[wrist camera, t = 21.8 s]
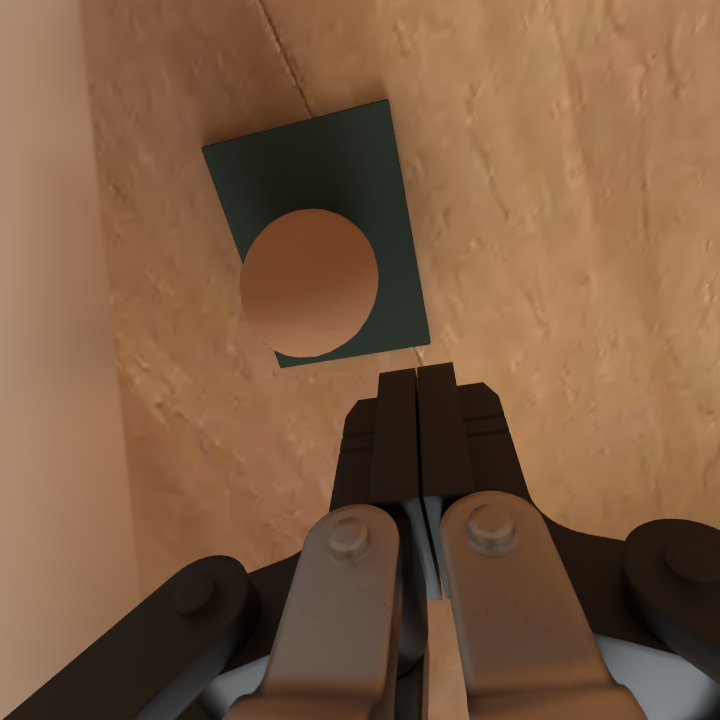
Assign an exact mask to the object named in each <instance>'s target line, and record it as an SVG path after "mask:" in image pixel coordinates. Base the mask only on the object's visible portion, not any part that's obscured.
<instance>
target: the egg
mask: <svg viewBox="0 0 720 720" xmlns="http://www.w3.org/2000/svg"><path fill="white" fill-rule="evenodd" d="M377 290H378V267H377V263H376V259H375V255H374V251H373V249H372V247H371V245H370V243H369V241H368V240H367V238H366V237H365V235H364V234H363V233H362V232H361V230H360V229H359V228H358V227H356V226H355V225H354V224H353V223H352V222H350V221H349V220H348V219H346V218H345V217H343V216H341V215H339V214H336V213H333V212H330V211H327V210H323V209H306V210H296V211H293V212H291V213H288V214H286V215H284V216H281V217H279V218H278V219H276V220H275V221H273V222H272V223H270V224H269V225H268V226H267V227H266V228H265V229H264V230H263V231H262V232H261V233H260V235H259V236H258V237H257V238H256V239H255V241H254V242H253V244H252V245H251V247H250V249H249V250H248V252H247V255H246V258H245V261H244V264H243V267H242V270H241V274H240V292H241V299H242V306H243V311H244V313H245V316H246V318H247V321H248V323H249V325H250V327H251V328H252V330H253V331H254V333H255V334H256V336H257V337H258V338H259V339H261V340H262V341H263V342H264V343H265V344H266V345H268V346H269V347H270V348H271V349H272V350H275V351H277V352H279V353H282V354H284V355H287V356H293V357H316V356H319V355H322V354H325V353H328V352H331V351H332V350H334V349H336V348H338V347H339V346H341V345H343V344H344V343H346V342H347V341H348V340H350V339H351V338H352V337H353V336H354V335H356V334H357V333H358V331H359V330H360V328H361V327H362V326H363V324H364V323H365V321H366V320H367V318H368V316H369V314H370V312H371V310H372V308H373V305H374V302H375V298H376V294H377Z"/></svg>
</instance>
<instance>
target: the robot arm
mask: <svg viewBox="0 0 720 720" xmlns="http://www.w3.org/2000/svg"><path fill="white" fill-rule="evenodd" d="M417 376H418V379H417ZM440 574H441V579H442V583H443V588H444V592H445V597H446V599H451V605H452V611H453V617H454V623H455V628H456V634H457V640H458V646H459V652H460V657H461V663H462V669H463V675H464V681H465V687H466V693H467V704H468V712H469V718H470V720H720V530H718V529H716V528H714V527H711V526H708V525H705V524H702V523H698V522H694V521H690V520H682V519H660V520H654V521H650V522H647V523H644V524H642V525H640V526H638V527H637V528H635V529H634V530H633V531H631V533H630V534H629V535H628V536H627V538H626V539H625V541H622V540H617V539H611V538H606V537H600V536H594V535H589V534H584V533H580V532H576V531H574V530H571V529H568V528H565V527H563V526H561V525H559V524H557V523H556V522H554V521H552V520H551V519H549V518H548V517H547V516H546V515H544V514H543V513H542V512H541V511H540V510H539V509H538V508H537V507H536V506H535V504H534V502H533V501H532V499H531V497H530V495H529V492H528V489H527V486H526V483H525V480H524V476H523V473H522V470H521V467H520V463H519V460H518V457H517V454H516V451H515V447H514V444H513V441H512V438H511V434H510V433H509V428H508V425H507V422H506V418H505V416H504V412H503V409H502V405H501V402H500V399H499V396H498V395H497V394H496V393H495V392H494V391H492V390H491V389H490V388H489V387H488V386H487V385H486V384H484V383H483V382H482V383H475V384H468V385H461V386H457V385H456V379H455V373H454V368H453V362H449V363H443V364H436V365H430V366H423V367H417V374H416V370H415V368H411V369H404V370H398V371H391V372H384V373H380V375H379V385H378V396H377V398H371V399H364V400H358V401H357V403H356V404H355V405H354V407H353V408H352V409H351V411H350V412H349V413H348V415H347V416H346V419H345V425H344V430H343V438H342V441H341V447H340V454H339V458H338V464H337V470H336V475H335V481H334V487H333V492H332V498H331V504H330V509H329V513H328V514H327V515H325V516H324V517H322V518H321V519H320V520H319V521H318V522H317V523H316V524H315V525H314V526H313V527H312V529H311V530H310V532H309V533H308V535H307V537H306V539H305V542H304V545H303V548H302V550H301V551H300V552H298V553H296V554H295V555H293V556H291V557H289V558H286V559H284V560H282V561H279V562H277V563H274V564H271V565H269V566H266V567H263V568H261V569H258V570H256V571H253V572H250V573H248V574H247V572H246V570H245V568H244V566H243V565H242V564H241V563H240V562H239V561H238V560H236V559H235V558H232V557H229V556H223V555H217V556H210V557H205V558H202V559H199V560H197V561H195V562H193V563H191V564H189V565H187V566H186V567H184V568H182V569H181V570H180V571H179V572H177V573H176V574H175V575H173V576H172V577H171V578H170V579H169V580H168V581H166V582H165V583H164V584H163V585H162V586H160V587H159V588H158V589H157V590H156V591H154V592H153V593H152V594H151V595H150V596H149V597H147V598H146V599H145V600H144V601H143V602H141V603H140V604H139V605H138V606H137V607H136V608H134V609H133V610H132V611H131V612H130V613H128V614H127V615H126V616H125V617H124V618H122V619H121V620H120V621H119V622H118V623H117V624H115V625H114V626H113V627H112V628H111V629H110V630H108V631H107V632H106V633H105V634H104V635H102V636H101V637H100V638H99V639H98V640H96V641H95V642H94V643H93V644H92V645H91V646H89V647H88V648H87V649H86V650H85V651H83V652H82V653H81V654H80V655H79V656H77V657H76V658H75V659H74V660H73V661H72V662H71V663H69V664H68V665H67V666H66V667H64V668H63V669H62V670H61V671H60V672H59V673H57V674H56V675H55V676H54V677H53V678H51V679H50V680H49V681H48V682H47V683H46V684H44V685H43V686H42V687H41V688H40V689H38V690H37V691H36V692H35V693H34V694H32V695H31V696H30V697H29V698H28V699H27V700H25V701H24V702H23V703H22V704H21V705H19V706H18V707H17V708H16V709H15V710H14V711H12V712H11V713H10V714H9V715H8V716H7V717H5V718H4V719H3V720H428V694H429V655H430V653H429V644H428V612H427V600H442V594H441V581H440Z"/></svg>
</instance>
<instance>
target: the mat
mask: <svg viewBox="0 0 720 720" xmlns="http://www.w3.org/2000/svg"><path fill="white" fill-rule="evenodd" d="M202 152H203V154H204V157H205V160H206V163H207V166H208V168H209V171H210V174H211V177H212V179H213V182H214V185H215V188H216V190H217V193H218V196H219V199H220V202H221V204H222V207H223V210H224V213H225V215H226V218H227V221H228V224H229V227H230V229H231V232H232V235H233V238H234V240H235V243H236V246H237V249H238V251H239V254H240V257H241V260H242V263H243V264H244V261H245V258H246V255H247V252H248V250H249V249H250V247H251V245H252V244H253V242H254V241H255V239H256V238H257V237H258V236H259V235H260V233H261V232H262V231H263V230H264V229H265V228H266V227H267V226H268V225H269V224H270V223H272V222H273V221H275V220H276V219H278V218H279V217H281V216H284V215H286V214H288V213H291V212H293V211H296V210H306V209H323V210H327V211H330V212H333V213H336V214H339V215H341V216H343V217H345V218H346V219H348V220H349V221H350V222H352V223H353V224H354V225H355V226H356V227H358V228H359V229H360V230H361V232H362V233H363V234H364V235H365V237H366V238H367V240H368V241H369V243H370V245H371V247H372V249H373V251H374V255H375V259H376V263H377V267H378V290H377V294H376V298H375V302H374V305H373V308H372V310H371V312H370V314H369V316H368V318H367V320H366V321H365V323H364V324H363V326H362V327H361V328H360V330H359V331H358V333H357V334H356V335H354V336H353V337H352V338H351V339H350V340H348V341H347V342H346V343H344V344H343V345H341V346H339V347H338V348H336V349H334V350H332V351H331V352H328V353H325V354H322V355H319V356H316V357H293V356H287V355H284V354H282V353H279V352H277V351H275V350H274V351H275V354H276V357H277V360H278V362H279V365H280V368H285V367H291V366H297V365H304V364H310V363H316V362H322V361H329V360H335V359H341V358H347V357H353V356H360V355H366V354H372V353H378V352H385V351H391V350H397V349H403V348H409V347H416V346H422V345H428V344H430V336H429V330H428V324H427V318H426V313H425V307H424V301H423V295H422V290H421V284H420V278H419V273H418V267H417V261H416V255H415V250H414V244H413V238H412V232H411V227H410V221H409V215H408V209H407V204H406V198H405V192H404V186H403V181H402V175H401V169H400V163H399V158H398V152H397V146H396V140H395V135H394V129H393V123H392V117H391V112H390V106H389V100H388V99H386V100H382V101H378V102H374V103H370V104H366V105H363V106H359V107H355V108H351V109H347V110H343V111H339V112H336V113H332V114H328V115H324V116H320V117H316V118H312V119H309V120H305V121H301V122H297V123H293V124H289V125H285V126H282V127H278V128H274V129H270V130H266V131H262V132H259V133H255V134H251V135H247V136H243V137H239V138H235V139H232V140H228V141H224V142H220V143H216V144H212V145H208V146H205V147H202Z"/></svg>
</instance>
